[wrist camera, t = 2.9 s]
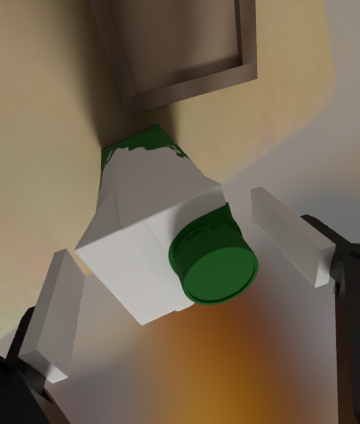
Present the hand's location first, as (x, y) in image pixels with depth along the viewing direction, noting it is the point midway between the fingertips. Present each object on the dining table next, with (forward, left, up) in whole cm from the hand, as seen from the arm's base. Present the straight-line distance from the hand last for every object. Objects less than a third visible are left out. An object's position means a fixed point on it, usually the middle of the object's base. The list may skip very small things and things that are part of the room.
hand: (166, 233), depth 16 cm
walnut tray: (+7, +13, -14) cm, 21 cm away
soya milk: (0, 0, -15) cm, 15 cm away
